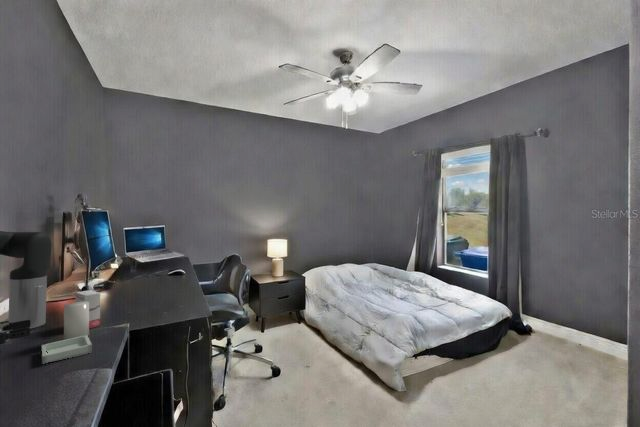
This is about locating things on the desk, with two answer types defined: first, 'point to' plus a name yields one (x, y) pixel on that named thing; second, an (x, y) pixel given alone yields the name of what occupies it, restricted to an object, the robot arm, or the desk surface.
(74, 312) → the white pillar candle
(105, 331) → the desk surface
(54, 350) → the tray
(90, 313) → the ink box
